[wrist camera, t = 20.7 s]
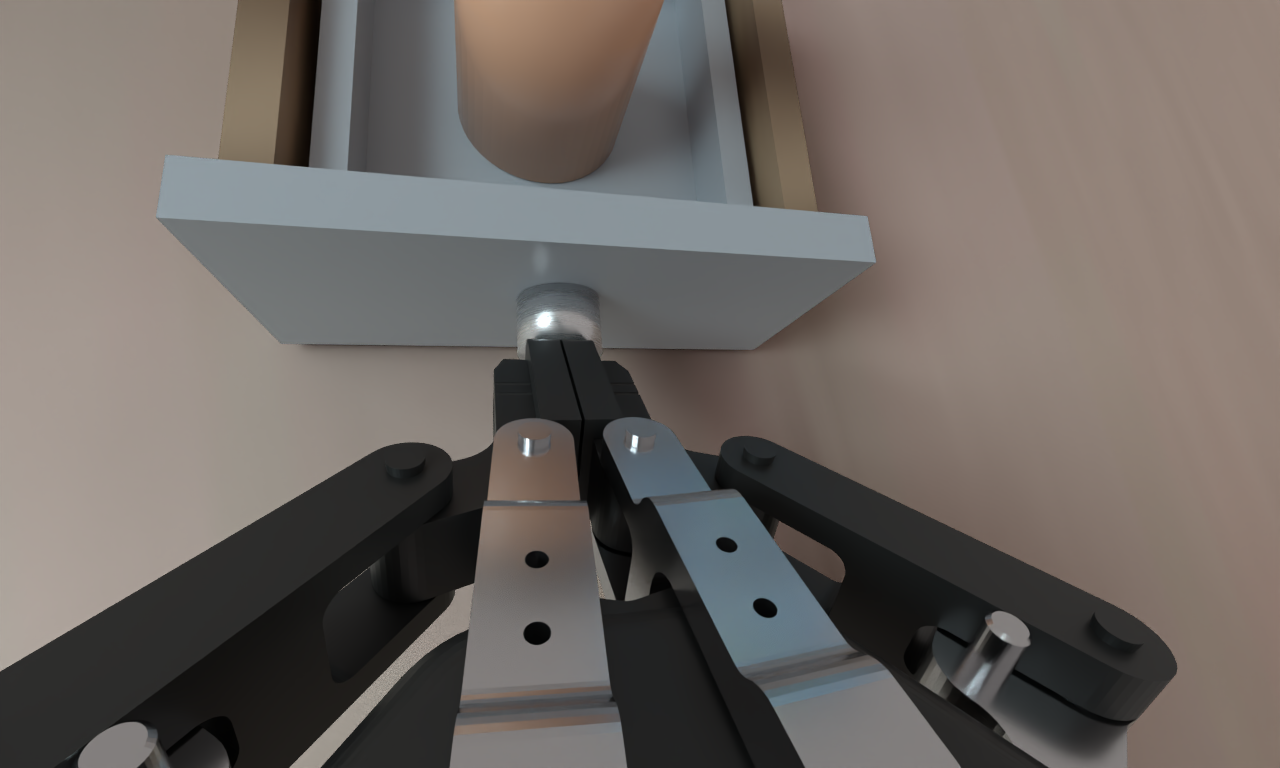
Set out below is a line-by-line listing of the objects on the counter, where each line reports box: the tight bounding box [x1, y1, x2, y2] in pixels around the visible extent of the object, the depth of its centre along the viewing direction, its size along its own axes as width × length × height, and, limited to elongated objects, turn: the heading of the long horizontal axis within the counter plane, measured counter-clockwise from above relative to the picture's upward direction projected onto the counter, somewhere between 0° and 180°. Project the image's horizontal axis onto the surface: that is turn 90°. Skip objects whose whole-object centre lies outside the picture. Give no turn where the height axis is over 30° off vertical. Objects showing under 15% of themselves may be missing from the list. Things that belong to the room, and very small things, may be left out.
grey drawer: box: [156, 0, 876, 360], centre depth 16 cm, size 15×14×6 cm
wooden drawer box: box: [218, 0, 818, 212], centre depth 17 cm, size 13×14×5 cm
